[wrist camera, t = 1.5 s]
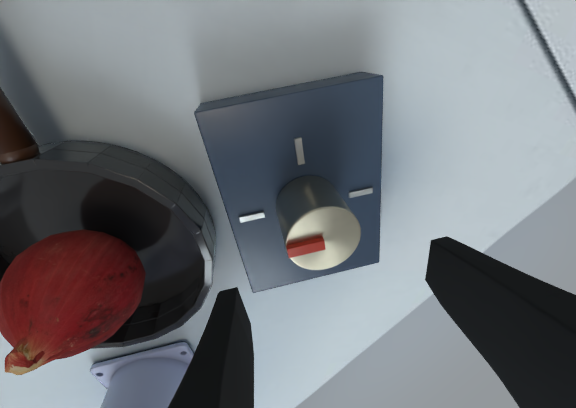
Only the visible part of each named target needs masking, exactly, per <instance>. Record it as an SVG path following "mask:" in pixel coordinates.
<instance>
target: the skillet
mask: <svg viewBox="0 0 576 408" xmlns="http://www.w3.org/2000/svg"><path fill="white" fill-rule="evenodd" d="M38 147H39V153H38V154H36V155H34V156H31V157H28V158H25V159H22V160H19V161H15V162H11V163H5V164H1V163H0V282H1V280H2V278H3V276H4V274H5V272H6V270H7V268H8V267H9V265H10V264H11V263H12V261H13V260H14V259H15V257H16V256H17V255H19V254H20V253H21V252H23V251H24V250H26V249H27V248H28V247H30V246H31V245H33V244H35V243H37V242H39V241H41V240H42V239H44V238H46V237H48V236H50V235H54V234H59V233H63V232H69V231H76V230H83V229H84V230H91V231H98V232H104V233H106V234H109V235H111V236H114V237H116V238H119V239H121V240H122V241H124V242H125V243H126V244H128V245H129V246H130V247H131V248H133V249H134V250H135V251H136V253H137V255H138V257H139V259H140V260H141V262H142V264H143V267H144V270H145V273H146V275H145V281H144V287H143V292H142V297H141V302H140V303H139V305H138V306H137V308H136V310H135V311H134V313H133V314H132V315H131V316H130V317H129V318H128V319H127V320H126V322H125V323H124V324H123V325H122V326H121V327H120V328H119V329H118V330H117V331H116V332H115V334H114V335H112V336H111V337H110V338H108V339H107V340H106V341H104V342H102V343H101V344H99V345H97V346H95V347H93V348H110V347H125V346H130V345H134V344H138V343H142V342H146V341H150V340H154V339H157V338H159V337H161V336H163V335H165V334H167V333H169V332H171V331H173V330H175V329H177V328H179V327H181V326H182V325H183V324H184V323H186V322H187V321H188V320H189V319H190V318H191V317H192V316H193V315H194V314H195V313H196V312H197V311H198V310H199V309H200V308H201V307H202V305H203V303H204V301H205V299H206V297H207V295H208V293H209V291H210V289H211V287H212V281H213V271H214V262H215V243H216V233H215V229H214V225H213V222H212V218H211V216H210V214H209V212H208V210H207V207H206V206H205V204H204V203H203V201H202V200H201V198H200V197H199V195H198V194H197V193H196V192H195V191H194V189H193V188H192V187H191V186H190V185H189V184H188V183H187V182H186V181H185V180H183V179H182V178H181V177H180V176H179V175H177V174H176V173H175V172H173V171H172V170H171V169H169V168H168V167H166V166H165V165H163V164H161V163H159V162H158V161H156V160H154V159H152V158H150V157H148V156H145V155H143V154H141V153H139V152H136V151H133V150H130V149H127V148H124V147H120V146H116V145H111V144H106V143H100V142H91V141H64V142H56V143H49V144H45V145H41V146H38ZM91 349H92V348H91Z"/></svg>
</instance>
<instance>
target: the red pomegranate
mask: <svg viewBox="0 0 576 408" xmlns="http://www.w3.org/2000/svg"><path fill="white" fill-rule="evenodd" d="M145 275H146V273H145V270H144V267H143V264H142V262H141V260H140V259H139V257H138V255H137V253H136V251H135V250H134V249H133V248H131V247H130V246H129V245H128V244H126V243H125V242H124V241H122V240H121V239H119V238H116V237H114V236H111V235H109V234H106V233H104V232H98V231H91V230H84V229H83V230H76V231H69V232H63V233H59V234H54V235H50V236H48V237H46V238H44V239H42V240H41V241H39V242H37V243H35V244H33V245H31V246H30V247H28V248H27V249H26V250H24V251H23V252H21V253H20V254H19V255H17V256H16V257H15V259H14V260H13V261H12V263H11V264H10V265H9V267H8V268H7V270H6V272H5V274H4V276H3V278H2V280H1V282H0V332H1V334H2V335H3V337H4V338H5V339H6V340H7V341H8V342H9V343H10V344H11V345H12V346H13V347H14V349H13V350H12V351H11V352H10V353H9V354H8V355H7V356H6V358H5V372H9V373H13V374H16V375H22V374H25V373H27V372H30V371H32V370H35V369H37V368H38V367H40V366H42V365H44V364H46V363H48V362H50V361H52V360H55V359H62V358H67V357H71V356H74V355H76V354H79V353H81V352H84V351H86V350H88V349H91V348H93V347H95V346H97V345H99V344H101V343H102V342H104V341H106V340H107V339H108V338H110V337H111V336H112V335H114V334H115V332H116V331H117V330H118V329H119V328H120V327H121V326H122V325H123V324H124V323H125V322H126V320H127V319H128V318H129V317H130V316H131V315H132V314H133V313H134V311H135V310H136V308H137V306H138V305H139V303H140V302H141V297H142V292H143V287H144V281H145Z"/></svg>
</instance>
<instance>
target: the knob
mask: <svg viewBox="0 0 576 408" xmlns="http://www.w3.org/2000/svg"><path fill="white" fill-rule="evenodd" d="M276 212H277V216H278V220H279V224H280V228H281V232H282V236H283V240H284V244H285V248H286V252H287V254H288V257H289V258H290V259H291V260H292V261H293V262H294V263H295V264H297V265H298V266H300V267H302V268H305V269H309V270H323V269H328V268H331V267H334V266H336V265H338V264H340V263H342V262H343V261H345V260H346V259H347V258H349V257H350V256H351V255H352V253H353V252H354V251H355V249H356V248H357V246H358V244H359V241H360V237H361V228H360V224H359V222H358V220H357V218H356V217H355V215H354V214H353V213H352V211H351V210H350V209H349V207H348V206H347V204H346V203H345V202H344V200H343V199H342V197H341V196H340V195H339V193H338V192H337V191H336V189H335V188H334V186H333V185H332V184H331V183H330V182H329V181H327V180H326V179H324V178H321V177H318V176H303V177H299V178H297V179H294V180H293V181H291V182H289V183H288V184H287V185H286V186H285V187H284V188H283V189H282V190H281V192H280V193H279V196H278V198H277V201H276Z"/></svg>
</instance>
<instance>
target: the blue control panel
mask: <svg viewBox="0 0 576 408" xmlns="http://www.w3.org/2000/svg"><path fill="white" fill-rule="evenodd" d="M194 114H195V117H196V120H197V124H198V127H199V130H200V133H201V136H202V139H203V142H204V145H205V148H206V151H207V154H208V157H209V160H210V163H211V166H212V169H213V172H214V175H215V179H216V182H217V185H218V188H219V191H220V194H221V197H222V200H223V203H224V206H225V209H226V212H227V215H228V218H229V221H230V224H231V227H232V231H233V234H234V237H235V240H236V243H237V246H238V249H239V252H240V255H241V258H242V261H243V264H244V267H245V270H246V273H247V276H248V279H249V283H250V286H251V289H252V292H253V293H255V292H259V291H263V290H267V289H272V288H276V287H280V286H284V285H288V284H292V283H296V282H300V281H304V280H308V279H313V278H317V277H321V276H325V275H329V274H333V273H337V272H341V271H345V270H349V269H354V268H358V267H362V266H366V265H370V264H374V263H378V262H379V248H380V204H381V159H382V114H383V75H378V74H372V73H365V72H359V73H354V74H349V75H344V76H339V77H334V78H328V79H323V80H318V81H313V82H308V83H303V84H298V85H292V86H287V87H282V88H277V89H272V90H267V91H262V92H257V93H251V94H246V95H241V96H236V97H231V98H226V99H221V100H215V101H210V102H205V103H201V104H200V105H199V107H198V108H197V109H196V111H195V112H194ZM303 176H318V177H321V178H324V179H326V180H327V181H329V182H330V183H331V184H332V185H333V186H334V188H335V189H336V191H337V192H338V193H339V195H340V196H341V197H342V199H343V200H344V202H345V203H346V204H347V206H348V207H349V209H350V210H351V211H352V213H353V214H354V215H355V217H356V218H357V220H358V222H359V224H360V228H361V237H360V241H359V244H358V246H357V248H356V249H355V251H354V252H353V253H352V255H351V256H350V257H349V258H347V259H346V260H345V261H343V262H342V263H340V264H338V265H336V266H334V267H331V268H328V269H323V270H309V269H305V268H302V267H300V266H298V265H297V264H295V263H294V262H293V261H292V260H291V259H290V258H289V257H288V254H287V252H286V248H285V244H284V240H283V236H282V232H281V228H280V224H279V220H278V216H277V212H276V201H277V198H278V196H279V193H280V192H281V190H282V189H283V188H284V187H285V186H286V185H287V184H288V183H289V182H291V181H293V180H294V179H297V178H299V177H303Z"/></svg>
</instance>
